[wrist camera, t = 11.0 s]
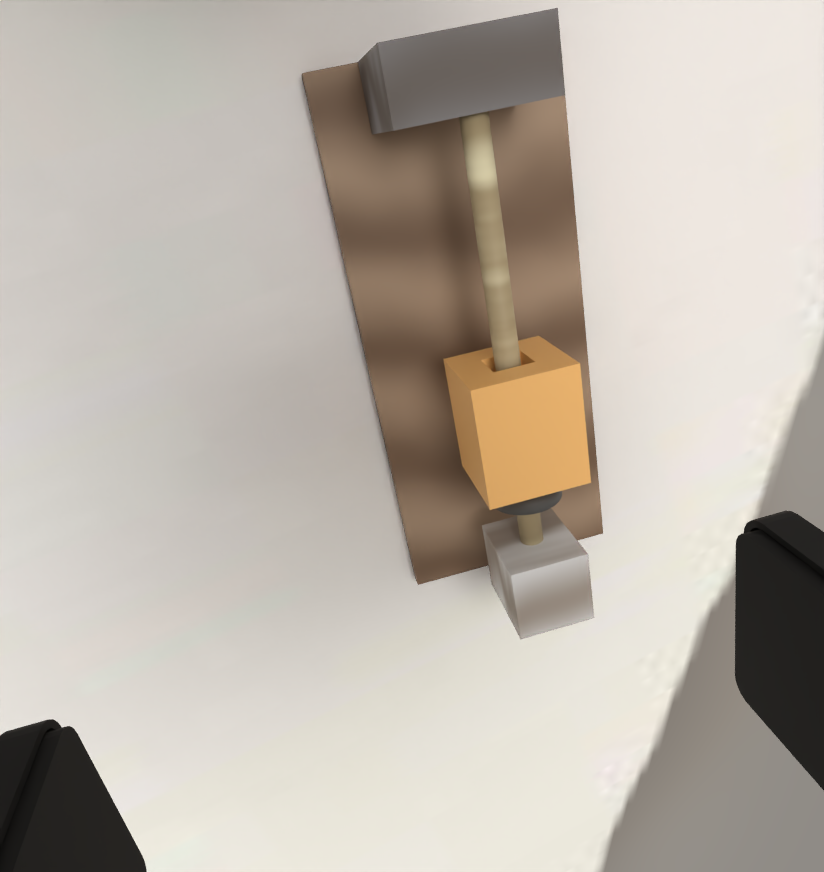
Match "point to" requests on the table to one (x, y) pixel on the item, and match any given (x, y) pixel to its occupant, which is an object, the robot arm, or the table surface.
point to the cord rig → (463, 280)
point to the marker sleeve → (520, 422)
